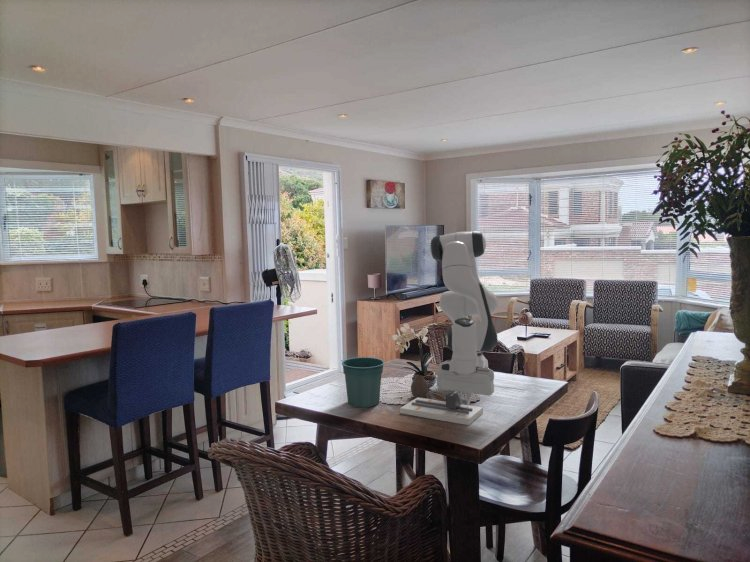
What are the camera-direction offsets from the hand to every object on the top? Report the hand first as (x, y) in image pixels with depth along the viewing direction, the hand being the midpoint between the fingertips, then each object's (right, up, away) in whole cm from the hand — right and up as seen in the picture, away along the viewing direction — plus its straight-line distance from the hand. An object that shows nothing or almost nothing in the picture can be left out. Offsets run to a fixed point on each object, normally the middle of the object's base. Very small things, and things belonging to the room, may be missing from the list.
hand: (465, 404), depth 189 cm
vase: (-14, -3, +24) cm, 28 cm away
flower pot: (-36, -4, +18) cm, 40 cm away
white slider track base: (-8, -4, +5) cm, 10 cm away
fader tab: (-4, -2, +2) cm, 5 cm away
